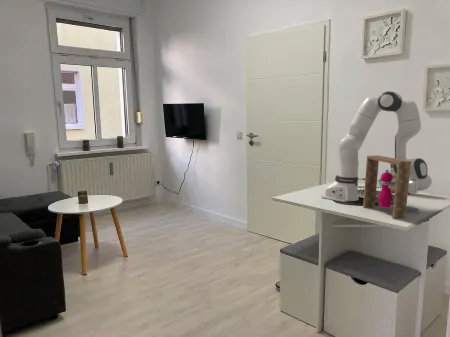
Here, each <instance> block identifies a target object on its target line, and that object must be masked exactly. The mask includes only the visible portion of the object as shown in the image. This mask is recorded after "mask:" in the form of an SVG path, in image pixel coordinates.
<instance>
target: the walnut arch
mask: <svg viewBox="0 0 450 337" xmlns="http://www.w3.org/2000/svg"><path fill="white" fill-rule="evenodd" d="M380 162H382V163H388V164H390V163H392V164H397V176H396V186H395V193H394V197H393V209H392V220H397V219H405V218H406V215H407V214H406V213H407V212H406V206H408V205H407V203H408V196H409V194H408V186H409V176H410V166H411V161H406V160H400V159H395V157H389V156H382V155H367V156H366V165H365V166H366V167H365V169H366V170H365V179H364V190H363V192H364V193H363V202H362V207H363V209H367V208H375V207H376V200H377V198H376V197H377V187H378V175H379V163H380Z"/></svg>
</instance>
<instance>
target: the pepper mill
mask: <svg viewBox="0 0 450 337" xmlns="http://www.w3.org/2000/svg"><path fill="white" fill-rule="evenodd" d="M380 178H381V180H382V183H381V184H382V186H381V189H380V192H379V194H378V197H377V199H378V207H380V208H387V209H388V208H391V207H392V201H394V197H393V193H391V190H390V188H388V187H389V185H391V183H392V182H391V181H392V180H393V175H392V174H391V173H389V169H386V170H385V172H383V173H382V174H381V175H380Z"/></svg>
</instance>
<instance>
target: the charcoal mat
mask: <svg viewBox="0 0 450 337" xmlns="http://www.w3.org/2000/svg"><path fill="white" fill-rule="evenodd" d="M419 211H420V210H419V209H418V208H416V207H414V206H412V207H411V206H408V205H407V206H406V213H409V214H410V213H412V214H413V213H415V212H416V213H418V212H419Z"/></svg>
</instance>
